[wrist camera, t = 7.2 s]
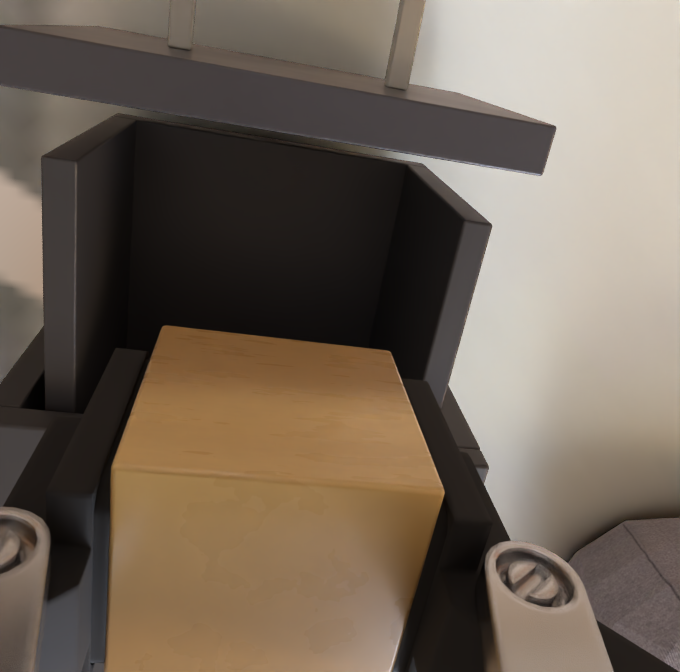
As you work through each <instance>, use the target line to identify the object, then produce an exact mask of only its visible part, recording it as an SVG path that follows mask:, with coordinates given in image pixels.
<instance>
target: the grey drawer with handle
mask: <svg viewBox="0 0 680 672" xmlns="http://www.w3.org/2000/svg"><path fill="white" fill-rule="evenodd" d="M425 2H426V0H400V3H399V9H398V14H397V19H396V24H395V30H394V35H393V40H392V45H391V51H390V56H389V61H388V66H387V72H386V77H385V79H381V78H375V77H370V76H364V75H359V74H354V73H348V72H343V71H338V70H332V69H327V68H321V67H316V66H311V65H305V64H300V63H294V62H289V61H284V60H278V59H273V58H268V57H262V56H257V55H251V54H246V53H241V52H235V51H230V50H224V49H219V48H214V47H208V46H203V45H198V44H193V33H194V20H195V7H196V0H170V12H169V28H168V39H165V38H160V37H155V36H149V35H144V34H138V33H133V32H128V31H122V30H117V29H111V28H106V27H101V26H59V25H0V86H6V87H12V88H18V89H24V90H30V91H35V92H41V93H47V94H53V95H59V96H65V97H71V98H77V99H83V100H89V101H95V102H101V103H107V104H113V105H119V106H125V107H131V108H137V109H143V110H149V111H155V112H161V113H167V114H173V115H179V116H185V117H191V118H197V119H203V120H209V121H215V122H221V123H227V124H233V125H239V126H245V127H251V128H257V129H263V130H269V131H275V132H281V133H287V134H293V135H299V136H305V137H311V138H317V139H322V140H328V141H334V142H340V143H346V144H352V145H358V146H364V147H370V148H376V149H382V150H388V151H394V152H400V153H406V154H412V155H418V156H424V157H430V158H436V159H442V160H448V161H454V162H460V163H466V164H472V165H478V166H484V167H490V168H496V169H502V170H508V171H514V172H520V173H526V174H532V175H538V176H541V175H542V174H543V172H544V168H545V165H546V162H547V158H548V155H549V152H550V148H551V145H552V142H553V138H554V135H555V132H556V127H555V126H554V125H551V124H548V123H545V122H542V121H539V120H536V119H533V118H530V117H527V116H524V115H521V114H519V113H516V112H513V111H510V110H507V109H504V108H501V107H498V106H495V105H492V104H489V103H486V102H483V101H480V100H477V99H474V98H471V97H468V96H466V95H463V94H460V93H456V92H451V91H445V90H440V89H434V88H429V87H424V86H418V85H413V84H409V80H410V75H411V70H412V65H413V60H414V56H415V51H416V46H417V41H418V36H419V31H420V26H421V21H422V17H423V12H424V7H425ZM41 173H42V236H43V304H44V369H45V411H56V412H67V413H78V414H84V412H85V410H86V408H87V406H88V404H89V402H90V400H91V398H92V395H93V393H94V391H95V389H96V387H97V385H98V383H99V381H100V379H101V377H102V375H103V373H104V371H105V369H106V367H107V365H108V363H109V361H110V358H111V356H112V354H113V352H114V350H115V349H116V348H122V349H131V350H141V351H149V359H150V358H151V355H152V353H153V350H154V347H155V344H156V342H157V339H158V336H159V333H160V331H161V328H162V327H163V326H166V325H168V326H177V327H186V328H194V329H203V330H212V331H221V332H229V333H238V334H247V335H256V336H265V337H273V338H282V339H291V340H300V341H309V342H317V343H326V344H335V345H344V346H352V347H361V348H370V349H379V350H387V351H390V352H391V354H392V357H393V359H394V362H395V365H396V367H397V370H398V372H399V375H400V377H401V378H403V379H412V380H421V381H427V382H428V383H429V385H430V388H431V390H432V392H433V394H434V396H435V398H436V401H437V403H438V405H439V407H440V409H441V408H442V404H443V401H444V397H445V394H446V390H447V386H448V383H449V379H450V376H451V372H452V368H453V365H454V361H455V358H456V354H457V351H458V347H459V343H460V340H461V336H462V333H463V329H464V325H465V322H466V318H467V315H468V311H469V308H470V304H471V300H472V297H473V293H474V290H475V286H476V282H477V279H478V275H479V272H480V268H481V264H482V261H483V257H484V254H485V250H486V247H487V243H488V239H489V236H490V232H491V229H492V224H491V223H490V222H489V221H487V220H486V219H485V218H484V217H483V216H482V215H481V214H479V213H478V212H477V211H476V210H475V209H474V208H473V207H471V206H470V205H469V204H468V203H467V202H466V201H465V200H463V199H462V198H461V197H460V196H459V195H458V194H457V193H455V192H454V191H453V190H452V189H451V188H450V187H449V186H447V185H446V184H445V183H444V182H443V181H442V180H441V179H439V178H438V177H437V176H436V175H435V174H434V173H433V172H431V171H430V170H429V169H428V168H427V167H426V166H425V165H423V164H422V163H416V162H410V161H404V160H397V159H391V158H385V157H379V156H373V155H367V154H361V153H355V152H349V151H343V150H337V149H331V148H325V147H319V146H313V145H307V144H301V143H295V142H289V141H283V140H276V139H270V138H264V137H258V136H252V135H246V134H240V133H234V132H228V131H222V130H216V129H210V128H204V127H198V126H192V125H186V124H180V123H174V122H168V121H162V120H155V119H149V118H143V117H137V116H131V115H125V114H119V113H118V114H116V115H114V116H112V117H110V118H108V119H107V120H105V121H103V122H101V123H100V124H98V125H96V126H94V127H92V128H91V129H89V130H87V131H85V132H84V133H82V134H80V135H78V136H77V137H75V138H73V139H71V140H69V141H68V142H66V143H64V144H62V145H61V146H59V147H57V148H55V149H54V150H52V151H50V152H48V153H46V154H45V155H43V156H42V157H41Z"/></svg>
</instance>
